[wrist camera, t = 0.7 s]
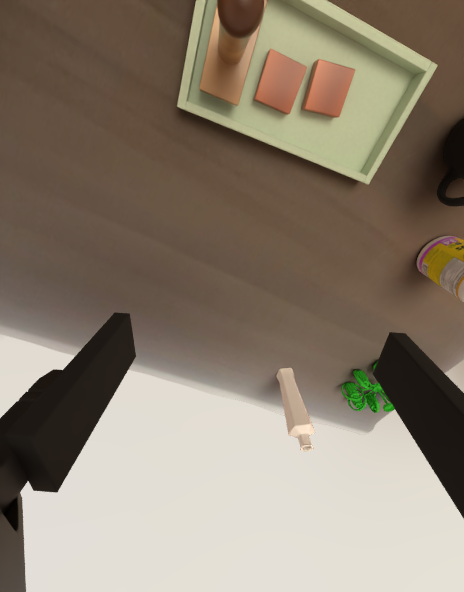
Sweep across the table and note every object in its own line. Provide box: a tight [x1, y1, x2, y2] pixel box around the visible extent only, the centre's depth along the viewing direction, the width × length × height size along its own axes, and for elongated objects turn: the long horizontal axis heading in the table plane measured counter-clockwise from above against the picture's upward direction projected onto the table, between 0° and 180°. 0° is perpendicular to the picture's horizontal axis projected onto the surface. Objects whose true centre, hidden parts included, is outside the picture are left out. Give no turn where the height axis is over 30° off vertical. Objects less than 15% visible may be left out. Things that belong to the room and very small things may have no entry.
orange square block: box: [301, 59, 355, 118], centre depth 26 cm, size 4×4×2 cm
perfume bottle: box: [276, 368, 315, 451], centre depth 47 cm, size 5×4×15 cm
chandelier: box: [342, 361, 395, 413], centre depth 54 cm, size 15×15×7 cm
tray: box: [177, 0, 438, 184], centre depth 26 cm, size 24×12×2 cm, turn 71°
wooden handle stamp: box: [199, 0, 268, 106], centre depth 19 cm, size 4×8×13 cm, turn 161°
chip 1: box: [253, 49, 307, 115], centre depth 26 cm, size 4×4×2 cm
